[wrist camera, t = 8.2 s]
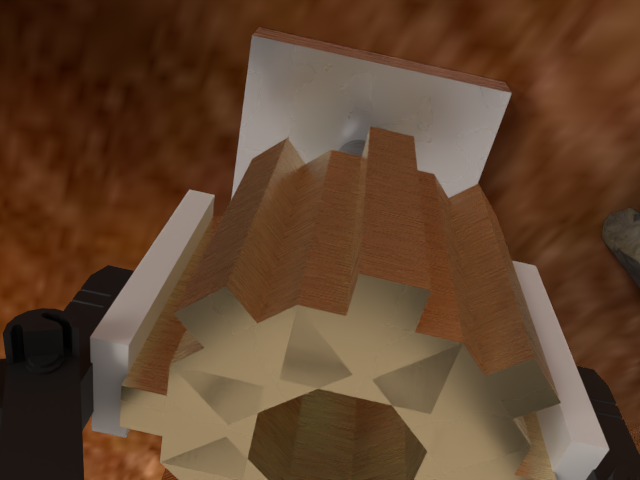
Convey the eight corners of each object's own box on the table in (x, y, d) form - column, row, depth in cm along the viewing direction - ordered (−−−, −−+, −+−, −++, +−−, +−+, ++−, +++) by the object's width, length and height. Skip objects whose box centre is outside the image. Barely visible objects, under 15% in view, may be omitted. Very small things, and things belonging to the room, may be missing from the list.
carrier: (215, 356, 32) (181, 453, 27) (259, 27, 23) (219, 71, 17) (390, 393, 32) (391, 496, 27) (504, 81, 23) (543, 142, 17)
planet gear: (152, 218, 17) (30, 385, 11) (411, 63, 14) (429, 182, 8) (311, 404, 21) (281, 609, 15) (549, 311, 18) (631, 522, 12)
